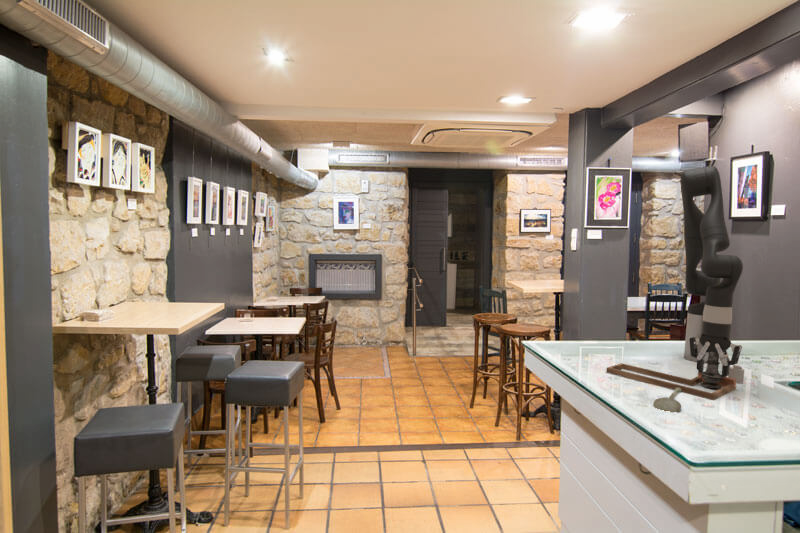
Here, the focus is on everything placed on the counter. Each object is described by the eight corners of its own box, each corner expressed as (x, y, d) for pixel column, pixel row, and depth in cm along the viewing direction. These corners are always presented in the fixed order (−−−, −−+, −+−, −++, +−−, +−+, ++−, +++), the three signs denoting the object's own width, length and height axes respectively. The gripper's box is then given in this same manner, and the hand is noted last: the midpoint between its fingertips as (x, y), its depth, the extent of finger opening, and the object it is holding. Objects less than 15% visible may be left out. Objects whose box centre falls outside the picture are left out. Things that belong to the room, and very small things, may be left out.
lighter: (743, 382, 162) (745, 357, 162) (743, 383, 161) (745, 359, 160) (717, 378, 166) (719, 354, 166) (716, 379, 165) (718, 355, 164)
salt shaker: (717, 383, 158) (721, 346, 157) (725, 389, 153) (729, 350, 152) (697, 381, 160) (700, 344, 159) (704, 387, 154) (707, 348, 153)
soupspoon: (650, 412, 136) (677, 419, 132) (651, 400, 135) (679, 407, 131) (666, 389, 153) (691, 395, 149) (667, 379, 152) (692, 384, 149)
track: (632, 364, 180) (632, 355, 180) (735, 388, 155) (736, 379, 155) (606, 372, 168) (607, 363, 168) (713, 400, 144) (714, 389, 144)
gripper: (686, 317, 157) (682, 370, 159) (739, 325, 146) (734, 382, 148) (696, 315, 162) (691, 367, 164) (748, 323, 151) (743, 378, 153)
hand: (712, 374), depth 156 cm, fingers closed on salt shaker, 6 cm apart
